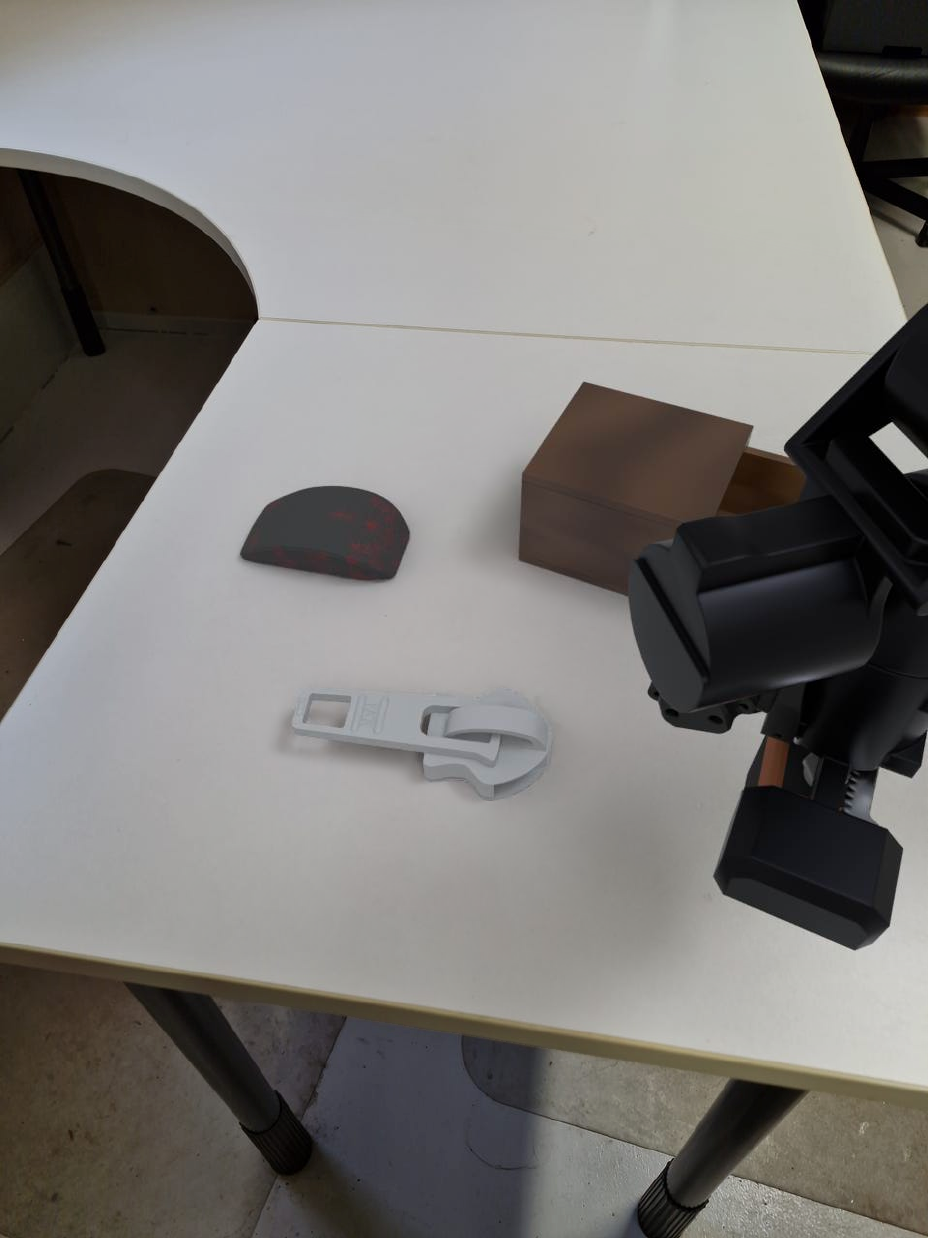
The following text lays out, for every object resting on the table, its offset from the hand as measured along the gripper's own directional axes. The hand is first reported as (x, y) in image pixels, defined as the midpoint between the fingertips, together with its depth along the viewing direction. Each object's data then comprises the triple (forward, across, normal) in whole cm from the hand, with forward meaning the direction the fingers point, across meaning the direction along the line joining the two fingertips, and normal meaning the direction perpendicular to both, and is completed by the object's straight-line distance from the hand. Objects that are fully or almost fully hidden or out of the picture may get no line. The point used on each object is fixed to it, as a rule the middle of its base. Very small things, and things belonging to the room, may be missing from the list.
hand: (790, 811), depth 44 cm
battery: (+3, 0, 0) cm, 3 cm away
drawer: (+12, -28, -4) cm, 31 cm away
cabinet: (+12, -28, -17) cm, 35 cm away
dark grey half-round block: (+12, -16, -40) cm, 45 cm away
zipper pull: (+12, -2, -23) cm, 26 cm away
